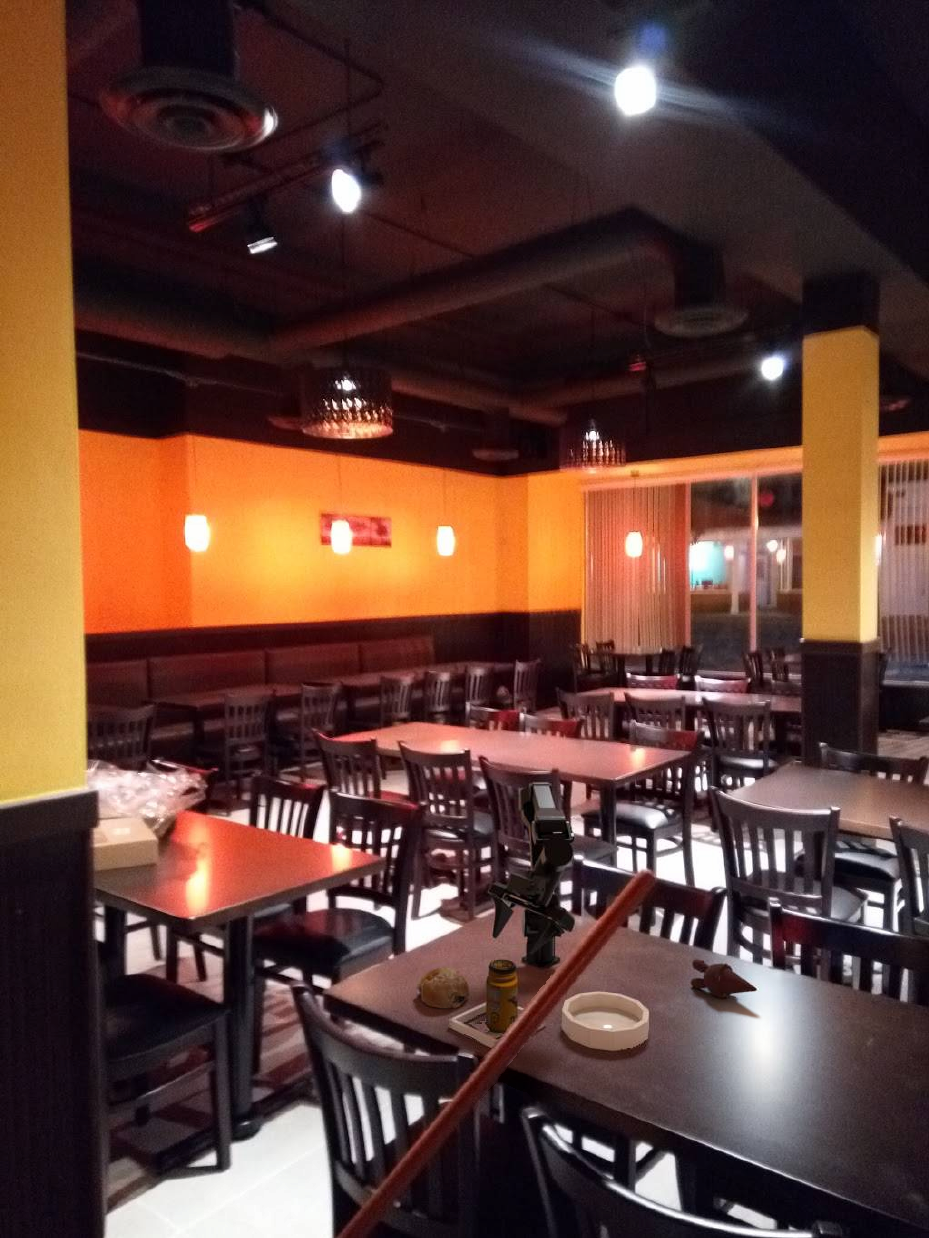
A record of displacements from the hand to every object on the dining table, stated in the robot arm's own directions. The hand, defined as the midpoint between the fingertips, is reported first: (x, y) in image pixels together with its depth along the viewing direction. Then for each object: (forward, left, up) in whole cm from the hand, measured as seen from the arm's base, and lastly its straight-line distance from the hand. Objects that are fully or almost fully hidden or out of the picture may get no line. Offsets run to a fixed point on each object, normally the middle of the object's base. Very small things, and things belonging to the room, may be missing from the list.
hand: (511, 945), depth 177 cm
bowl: (-7, +18, -13) cm, 23 cm away
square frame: (+7, +3, -13) cm, 15 cm away
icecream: (-36, +26, -13) cm, 47 cm away
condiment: (+7, +3, -13) cm, 15 cm away
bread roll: (+6, -14, -13) cm, 20 cm away
